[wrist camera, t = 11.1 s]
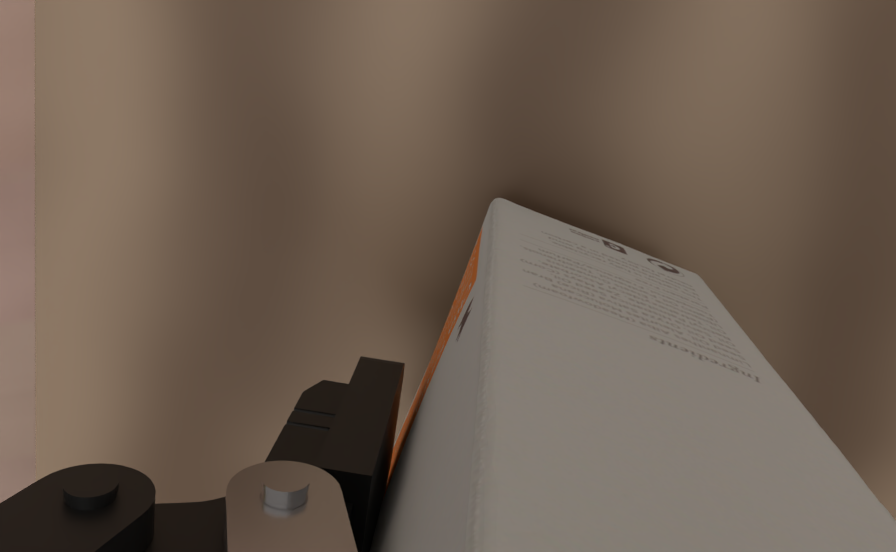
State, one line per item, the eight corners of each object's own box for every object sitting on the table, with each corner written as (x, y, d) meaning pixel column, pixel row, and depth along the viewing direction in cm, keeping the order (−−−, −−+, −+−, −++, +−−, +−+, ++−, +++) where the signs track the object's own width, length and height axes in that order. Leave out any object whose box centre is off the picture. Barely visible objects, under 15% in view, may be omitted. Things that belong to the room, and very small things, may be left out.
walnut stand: (1070, -15, 18) (1222, -28, 14) (839, 625, 23) (905, 739, 20) (130, -162, 19) (34, -214, 15) (110, 502, 24) (36, 591, 20)
